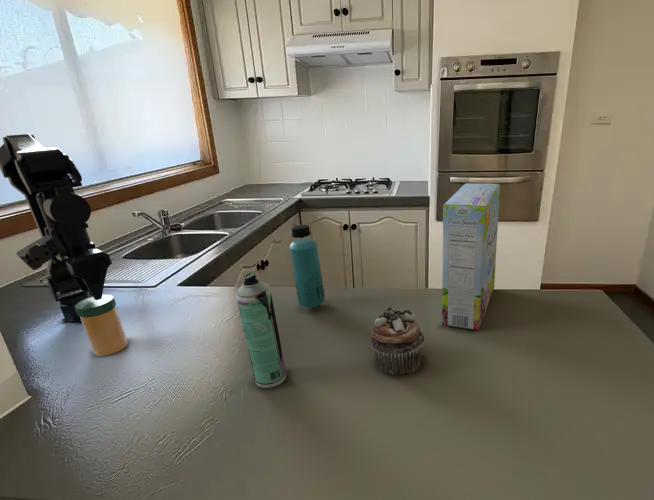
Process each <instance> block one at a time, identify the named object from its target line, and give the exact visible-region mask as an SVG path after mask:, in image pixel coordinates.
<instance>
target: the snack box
mask: <svg viewBox="0 0 654 500" xmlns="http://www.w3.org/2000/svg"><path fill="white" fill-rule="evenodd" d="M500 192H501V184H500V183H464V184H463V185H462V186H461V187H460V188H459V189H458V190H457V191H456V192H455V193H454V194H453V195H452V196H451V197H450V198H449V199H448V200H447V201H446V202H445V203H444V204H443V205H442V206H443V207H442V210H443V211H442V276H441V277H442V278H441V279H442V281H441V287H442V288H441V291H442V292H441V325H442V326H445V327H454V328H458V329H459V328H460V329H466V330H473V331H480V329H481V326H482V324H483V320H484V318H485V314H486V312H487V309H488V306H489V303H490V300H491V297H492V294H493V292H494V289H495V283H496V263H497V246H498V228H499V214H500V213H499V211H500V196H501V195H500Z"/></svg>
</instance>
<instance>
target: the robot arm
mask: <svg viewBox="0 0 654 500" xmlns="http://www.w3.org/2000/svg"><path fill="white" fill-rule="evenodd" d="M2 142H3V144H2V145H1V146H0V172H1V174H2V176H3V178H4V179H8V182H9V184H10V186H12V187H13V188H14V189H15V190H16V191H18V192H19V193H20V194H22V195H23V196H24V198H25V200H26V203H27V205H28V208H29V210H30V213H31V215H32V218H33V220H34V222H35V224H36V227H37V229H38V233H39V234H40V238H38V239H35V241H33V242H31V243H29V244H28V245H26V246H25V247H22V248H21V249H19V250H17V252H16V253H15V255H16V256H17V257H18V258H19V259H20V260H21V261H22V262H23V263H24V264H25V265H26V266H27V267H28V268H30V269H31V270H32V271H37V270H38V269H40V268H41V267H43V265H44V264H46V263H47V267H46V272H47V275H48V277H46V282H47V285H48V289H49V292H50V294H51V297H52V298H53V300H54V301H55V302H56V303H58V302H59V304H60V305H59V307H60V310H61V313H62V315H63V318H62V319H61V321H62V322H66V323H67V322H69V323H70V322H71V323H82V321H81V319H80V316H78V315H77V313H76V310H75V305H76V304H77V303H79V302H80V301H82V300H85V299H87V298H90V297H93V298H94V299H95V300H99V299H101V298H102V295H104V294H103V293H104V289H105V288H104V287H105V282H106V278H107V273H108V269H109V268H110V266H112V265H113V261H112V259H111V256H110V254H109V253H106V252H104V251H102V250H101V249H99V248H97V247H96V245H95V242H93V241H91V238H90V236H89V233H88V230H87V229H89V224H88V221H89V220H90V218H91V214H92V209H91V206H90V204H89V202H88V201H87V200H86V199H85V198H84V197H82V196H80V195H78V194H76V192H75V190H74V188H80V187H83V183H82V182H83V178H82V177H83V176H82V174H81V173H80V171H79V170H78V168H77V166H76V163H75V162H74V161H73V159H71V158H70V157H69V155H68V154H66V153H64V152H63V151H62V149H60V148H58V147H44V146H43V145H42V144H41V143H40V142H38V140H37V139H36V137H35V135H34V134H30V133H20V134H19V133H18V134H9V135H7V134H6V136H3V137H2Z"/></svg>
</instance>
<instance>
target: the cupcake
mask: <svg viewBox="0 0 654 500" xmlns="http://www.w3.org/2000/svg"><path fill="white" fill-rule="evenodd" d="M415 319H416V314H415V313H414V312H411V310H409V309H405V310H403V311H402V310H396V309H394V308H392V306H390V307H387V308H386V309H385V310H384V312H383V314H380V315H379V316H378V317H377V318H376V319H375V320H374V325H373V326H372V327H371V330H370V331H371V332H370V344H371V348H372V351H373V354H374V357H375V361H376V364H377V366H378V367H377V368H379V369H380V370H381V371H382V372H383V373H385V374H389V375H392V376H405V375H409V374H412V373H414V372H415V371H417V370H418V369H419V367H420V366H421V364H422V363H421V361H422V357H423V356H422V355H423V350H424V346H425V341H426V340H425V338H426V337H425V335H424V333H422V330H420V325H419V323H418V322H417V321H416V320H415Z"/></svg>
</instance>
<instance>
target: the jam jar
mask: <svg viewBox="0 0 654 500" xmlns="http://www.w3.org/2000/svg"><path fill="white" fill-rule="evenodd" d="M116 306H117V305H115V307H114V308H113V309H111V310H109V311H107V312H105V313H102V314H99V315H95V316H90V317H80V319H81V321H82V322H81V324H82V326H83V329H84V331H85V334H86V336H87V339H88V342H89V344H90V347H91V349H92V352H93V354H94V355H95V356H97V357H106V356H110V355H113V354H117V353H119V352H120V351H122V350H124V349H125V348H126V347H127V346H128V345H129V341H128V338H127V335H126V333H125V329H124V327H123V324H122V321H121V318H120V315H119V312H118V310H117V307H116Z"/></svg>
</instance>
